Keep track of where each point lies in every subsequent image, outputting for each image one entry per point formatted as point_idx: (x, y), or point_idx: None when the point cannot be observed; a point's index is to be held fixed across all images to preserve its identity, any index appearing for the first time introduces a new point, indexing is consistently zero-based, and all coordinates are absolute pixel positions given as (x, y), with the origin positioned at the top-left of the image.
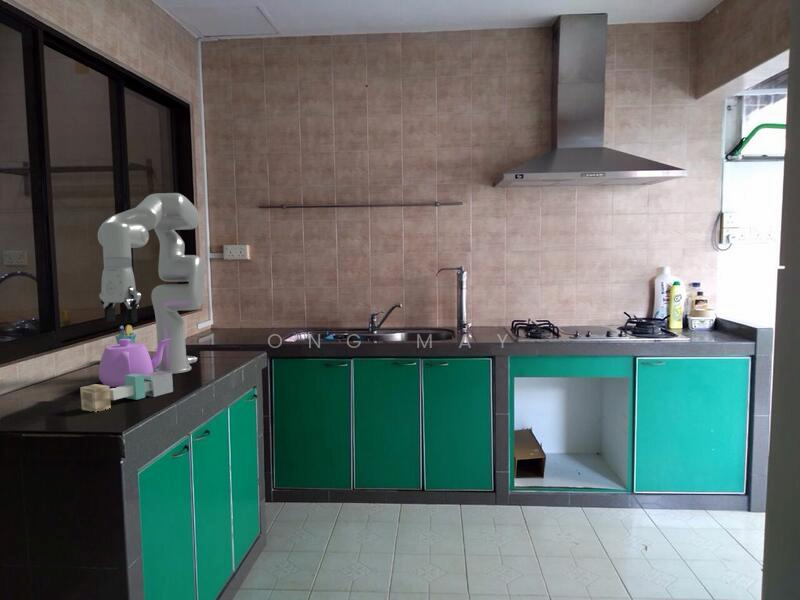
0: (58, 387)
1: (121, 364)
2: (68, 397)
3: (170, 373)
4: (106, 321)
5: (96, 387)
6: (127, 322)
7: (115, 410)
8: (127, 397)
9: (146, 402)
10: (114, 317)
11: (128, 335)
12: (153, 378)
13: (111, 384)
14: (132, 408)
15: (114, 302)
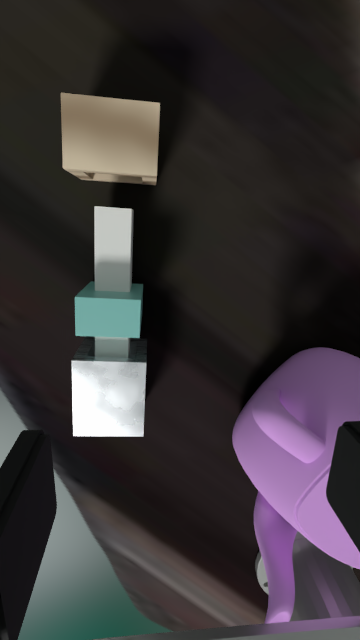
0: None
1: (296, 406)
2: (345, 228)
3: (73, 428)
4: (346, 422)
5: (90, 127)
6: (40, 430)
7: (41, 165)
8: (135, 284)
9: (42, 278)
10: (342, 513)
11: None
12: (72, 360)
13: (297, 353)
14: (13, 206)
15: (203, 632)
